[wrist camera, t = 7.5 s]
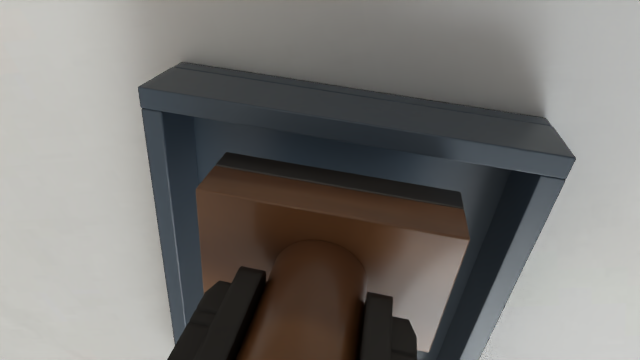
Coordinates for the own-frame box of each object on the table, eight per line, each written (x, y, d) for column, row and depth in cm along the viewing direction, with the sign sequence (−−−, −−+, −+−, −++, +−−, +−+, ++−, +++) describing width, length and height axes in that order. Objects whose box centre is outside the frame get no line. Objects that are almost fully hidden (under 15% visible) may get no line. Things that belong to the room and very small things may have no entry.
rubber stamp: (225, 151, 14) (42, 370, 7) (461, 191, 13) (522, 486, 6) (229, 259, 17) (97, 500, 10) (426, 298, 16) (441, 593, 9)
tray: (181, 61, 17) (137, 86, 14) (546, 117, 16) (577, 158, 13) (206, 373, 29) (185, 420, 26) (419, 423, 27) (420, 479, 24)
